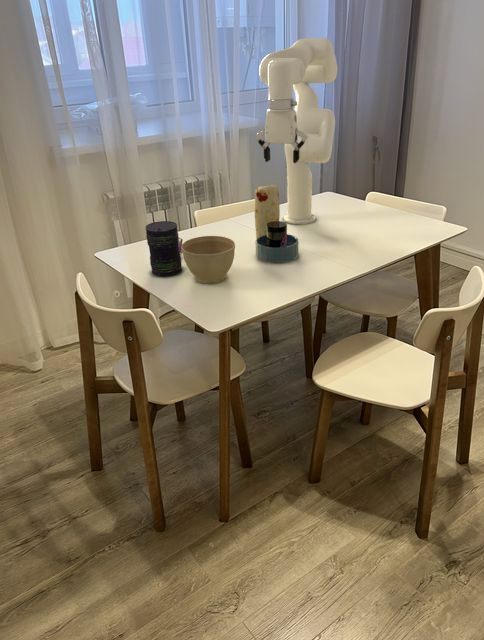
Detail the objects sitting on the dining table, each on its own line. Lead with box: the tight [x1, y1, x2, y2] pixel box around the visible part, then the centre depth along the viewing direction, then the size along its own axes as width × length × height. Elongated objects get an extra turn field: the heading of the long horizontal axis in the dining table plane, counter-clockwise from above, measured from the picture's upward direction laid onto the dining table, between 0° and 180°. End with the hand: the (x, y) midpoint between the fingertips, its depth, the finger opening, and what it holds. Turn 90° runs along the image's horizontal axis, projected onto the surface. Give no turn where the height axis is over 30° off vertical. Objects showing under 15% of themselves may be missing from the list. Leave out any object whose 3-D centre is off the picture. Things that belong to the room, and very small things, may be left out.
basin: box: [255, 233, 299, 264], centre depth 180 cm, size 14×14×6 cm
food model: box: [254, 184, 281, 240], centre depth 189 cm, size 10×7×20 cm
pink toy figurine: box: [178, 236, 183, 254], centre depth 185 cm, size 7×5×9 cm
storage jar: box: [145, 220, 183, 278], centre depth 169 cm, size 10×10×15 cm
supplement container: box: [266, 220, 288, 248], centre depth 178 cm, size 7×7×10 cm
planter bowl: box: [181, 235, 236, 284], centre depth 164 cm, size 16×16×11 cm
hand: (281, 161), depth 177 cm, fingers open, 9 cm apart
